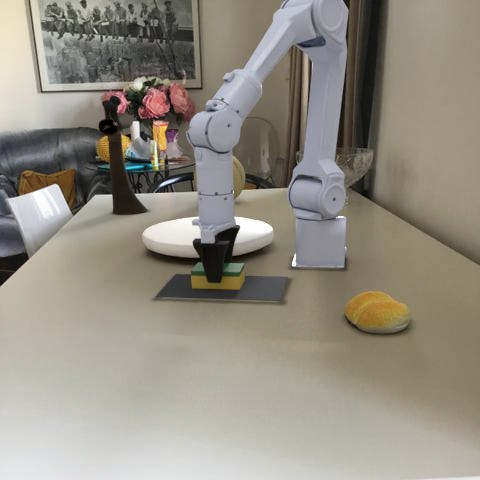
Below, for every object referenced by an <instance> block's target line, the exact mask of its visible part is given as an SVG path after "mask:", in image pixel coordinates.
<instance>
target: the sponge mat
mask: <svg viewBox="0 0 480 480" xmlns="http://www.w3.org/2000/svg"><path fill="white" fill-rule="evenodd" d="M288 279H289V276H278V275H277V276H275V275H245V281H244V282H243V284H242V286H241V288H240V290H231V289H198V288H192V280H191V273H188V274H187V273H175V274H174V276H173V277H171V278H170V280H169V281H168V282H167V283H166V284H165V286H163V287H162V289H161V290H160V291H159V292H158V293H156V295H155V298H171V299H172V298H173V299H174V298H176V299H202V300H203V299H207V300H231V301H232V300H235V301H260V302H261V301H262V302H263V301H264V302H265V301H266V302H267V301H269V302H282V299H283V298H282V297H283V296H284V292H285V289H286V286H287V282H288Z"/></svg>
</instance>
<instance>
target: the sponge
mask: <svg viewBox="0 0 480 480" xmlns="http://www.w3.org/2000/svg"><path fill="white" fill-rule="evenodd" d="M245 272H246V271H245V262H231V263H224V265H223V275H222V280H221V283H208V281H207V278H206V275H205V272H204V268H203V265H202V262H201V261H199V262H197V263H196V264H195V265H194V267H193V268H192V269H191V270H190V274H191V280H192V288H198V289H231V290H240V288H241V286H242V284H243V282H244V281H245V276H246V274H245Z"/></svg>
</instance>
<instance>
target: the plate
mask: <svg viewBox="0 0 480 480" xmlns="http://www.w3.org/2000/svg"><path fill="white" fill-rule="evenodd" d="M194 219H199V216H191V217H183V218H178V219H176V218H175V219H171V220H165V221H161V222H158V223H155V224H153V225H150V226H149V227H147V228H146V229H145V230H144V231H143V232H142V236H141V240H142V244H143V246H144V247H145V248H147V249H148V250H150V251H152V252H155V253H156V254H161V255H164V256H165V255H166V256H172V257H179V258H191V259H192V258H193V259H200V257H199V255H198V253H197V252H196V250H195V249H194V247H193V240H194V239H195V238H201V234H200V231H201V230H200V228H199V226H197V225H192V220H194ZM235 219H236V225H240V230H239V232H238V234H237V237H236V240H235V243H234V248H233V254H232V257H235V256H242V255H244V254H248V253H252V252H255V251H258V250H260V249H262V248H264V247H266V246H268V245H270V244H271V243H272V242H273V241H274V237H275V235H274V234H275V233H274V229H273V227H272V226H271V225H270V224H269V223H266V222H264V221H261V220H257V219H252V218H247V217H241V216H235Z"/></svg>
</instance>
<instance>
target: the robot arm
mask: <svg viewBox="0 0 480 480" xmlns="http://www.w3.org/2000/svg"><path fill="white" fill-rule="evenodd" d="M349 13H350V11H349V8H348V6H347V5H346V3H345V2H344V0H284V1H282V4H281V5H280V7H279V9H277V11H275V12H274V13H273V16H272V22H271V25H269V28H268V29H267V31H266V32H265V34H264V35H263V37H262V39H261V40H260V42H259V43H258V45H257V47H256V48H255V50H254V52H253V53H252V54H251V56H250V58H249V59H248V61H247V63H246V64H245V66H244V67H243V68H242V69H241V68H235V69H233V70H232V71H231V72H226V73H225V74H224V76H222V81H223V83H222V85H220V87H219V89H218V90H217V92H216V93H215V95H214V96H213V97H212V99H208V100H207V102H206V103H205V110H203V111H200V112H197V113H196V114H195V115H194V116H192V118H191V120H190V122H189V127H188V130H186V131H185V135H186V139H187V141H188V143H189V145H190V146H191V147H192V150H193V155H194V159H195V160H194V161H195V167H196V177H197V190H196V192H197V194H196V195H197V209H198V210H197V211H198V217H199V219H194V220H192V225H197V226H199V228H200V230H201V231H200V234H201V238H195V239H194V240H193V247H194V249H195V250H196V252H197V253H198V255H199V257H200V258H199V259H200V262H202V265H203V268H204V272H205V275H206V278H207V281H208V283H221V280H222V275H223V265H224V263H232V260H233V256H232V254H233V248H234V243H235V240H236V237H237V234H238V232H239V230H240V225H236V219H235V217H236V216H235V200H234V187H233V157H232V155H233V148H235V147H236V146H237V145H238V144H239V142H240V138H241V128H242V126H243V125H244V121H246V119H247V117H248V116H249V115H250V113H251V112H252V111H253V109H254V108H255V106H256V105H257V103H258V102H259V101H260V99H261V98H262V96H263V85H262V83H263V82H264V80H265V79H266V78H267V77H268V76H269V75H270V73H271V72H272V71H273V69H275V67H276V66H277V65H278V64H279V62H280V61H281V60H282V58H283V57H284V56H285V55H286V53H287V52H288V51H289V50H290V48H291V47H292V46H295V47H297V48H298V50H300V51H302V52H303V53H304V54H306V56H307V57H308V58H309V60H310V61H311V63H312V68H311V69H312V70H311V78H310V89H309V99H308V107H307V108H308V109H307V118H306V128H305V137H304V148H303V157H302V160H301V161H299V163H298V164H297V165H295V167H294V168H293V170H292V177H291V180H290V183H289V185H288V187H287V191H286V200H287V203H288V205H289V207H290V208H291V209H292V210H293V211H292V213H293V215H295V233H294V235H295V240H294V242H295V243H294V247H295V248H294V255H293V259H292V262H291V265H290V266H291V267H293V268H322V269H323V268H324V269H325V268H326V269H327V268H330V269H344V268H345V258H346V257H348V256H347V255H348V247H347V246H346V235H347V216H341V215H340V216H339V214H340V213H341V211H342V210H344V209H343V208H344V206H345V204H346V199H347V192H346V188H345V178H346V175H345V173H344V172H343V170H342V169H341V168H340V167H339V165H338V164H337V163H336V162H335V160H336V153H337V143H338V133H339V125H340V118H341V109H342V102H343V93H344V92H343V91H344V83H345V75H346V68H347V58H348V46H347V38H346V37H347V28H348V20H349ZM315 177H317V178H315Z"/></svg>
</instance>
